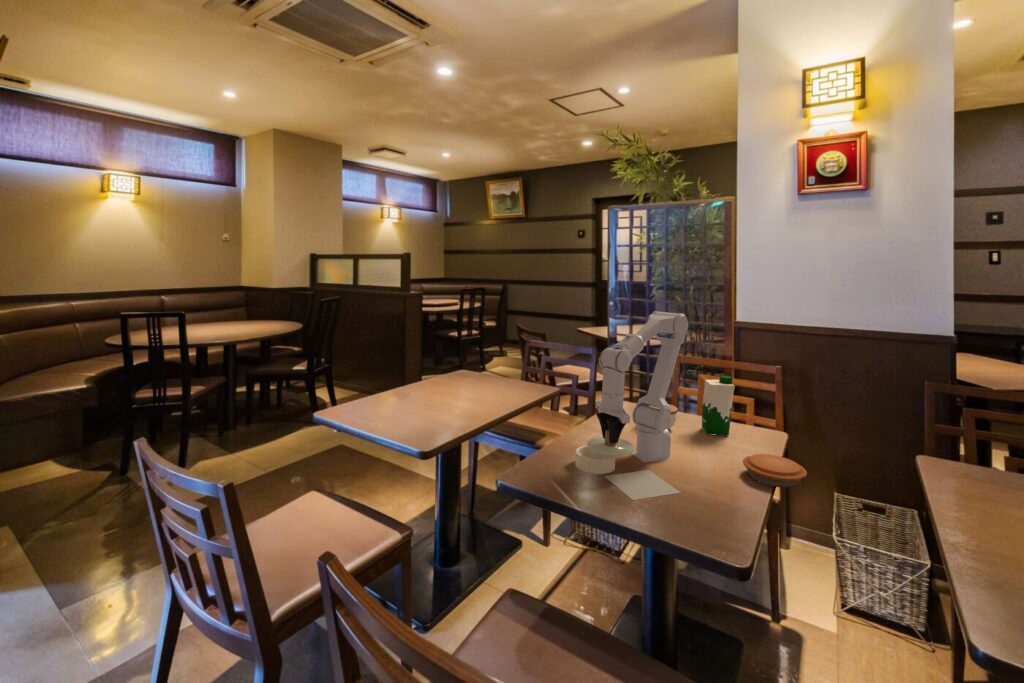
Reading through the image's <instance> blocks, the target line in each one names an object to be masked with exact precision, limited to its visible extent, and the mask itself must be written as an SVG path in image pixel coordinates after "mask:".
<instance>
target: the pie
mask: <svg viewBox="0 0 1024 683" xmlns="http://www.w3.org/2000/svg"><path fill="white" fill-rule="evenodd" d="M742 463H743V465H744V467H745V468H746V470H747V472H748V474H749V475H750V477H751V476H752V477H753V478H754V479H753V478H752V477H751V478H752V479H753V480H755V481H756V480H757V481H756V482H758V481H760V482H759V483H761V482H762V483H761V484H763V483H765V484H764V485H766V484H768V485H767V486H770V487H775V488H793V487H795V486H797V484H799V482H800V481H802V480H803V479H804V478H806V477H807V475H808V472H807V470H806V469H805V468H804V467H803V466H802V465H800V464H798V463H797V462H796V461H793V460H792V459H789V458H787V457H783V456H778V455H773V454H767V453H766V454H764V453H757V454H753V455H747V456H746V457H744V458H743V459H742ZM774 485H775V486H774Z"/></svg>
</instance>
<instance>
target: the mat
mask: <svg viewBox="0 0 1024 683" xmlns="http://www.w3.org/2000/svg"><path fill="white" fill-rule="evenodd" d="M603 477H604V478H605V479H606V480H608V481H609V482H611V483H612V484H613V485H614V486H615V487H616V488H618V489H619V490H620V491H621V492H622V493H624V494H625V495H626V496H627V497H628V498H629V499H630V500H632V501H636V500H637V501H638V500H643V499H644V500H645V499H650V498H656V497H663V496H669V495H675V494H680V493H682V492H681V491H680V490H679V489H676V487H674V486H673V485H671V484H670V483H668V482H666V480H663V479H662V477H660V476H658V475H656V474H655V473H654V472H652V471H651V470H649V469H646V470H639V471H632V472H624V473H616V474H609V475H604V476H603Z"/></svg>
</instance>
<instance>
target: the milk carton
mask: <svg viewBox="0 0 1024 683" xmlns="http://www.w3.org/2000/svg"><path fill="white" fill-rule="evenodd" d="M733 379H734V377H733V376H732V375H731V376H730V375H720V376H719V379H715V378H714V379H704V386H703V398H702V412H701V429H702V428H703V429H704V430H703V429H702V430H703V432H704V433H705V432H706V433H707V434H716V435H715V436H718V435H729V436H730V429H731V428H730V427H731V419H732V411H733V410H732V409H733V398H734V393H735V392H734V391H735V387H736V386H735V384H734V383H733ZM706 433H705V434H706ZM707 434H706V435H707Z"/></svg>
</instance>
